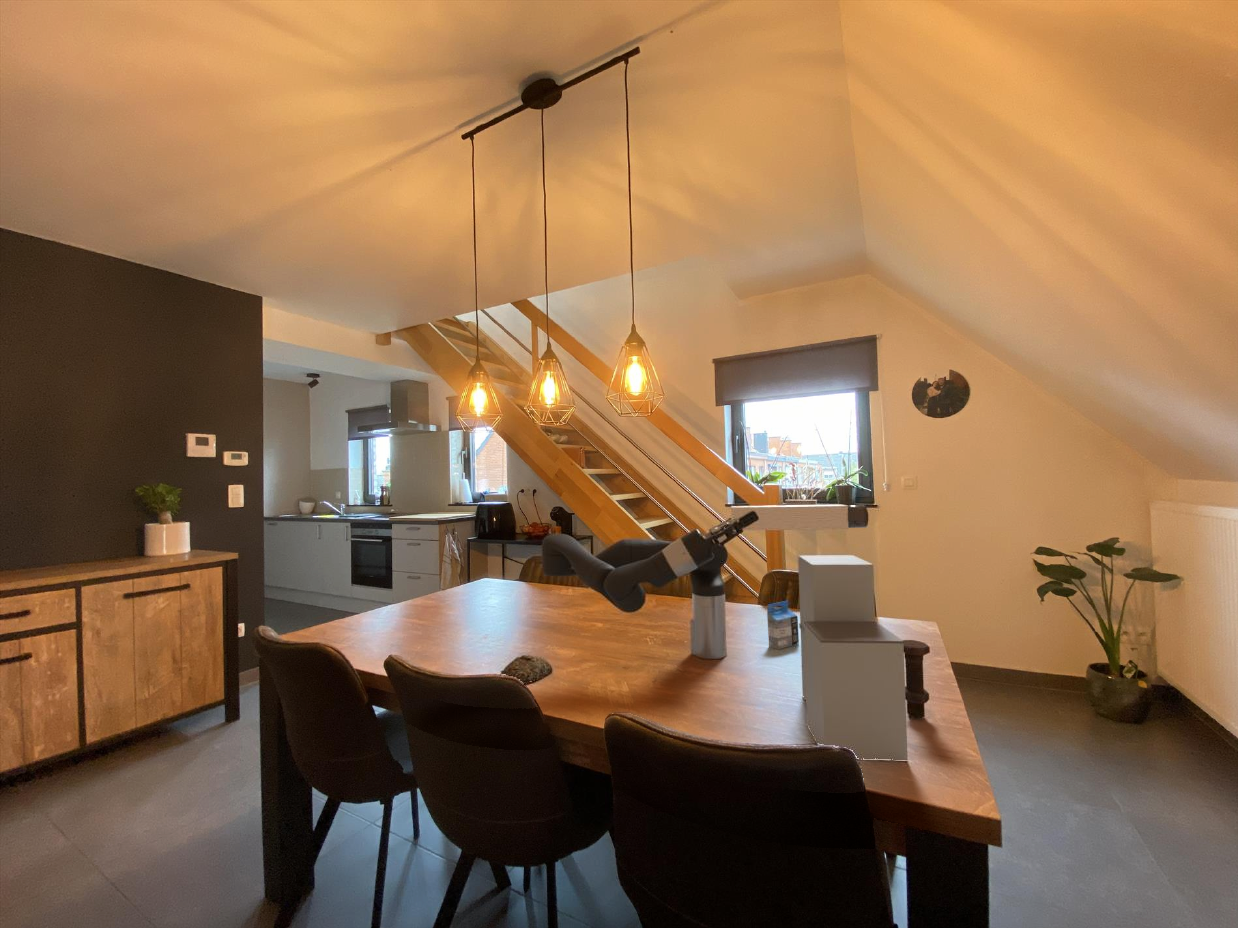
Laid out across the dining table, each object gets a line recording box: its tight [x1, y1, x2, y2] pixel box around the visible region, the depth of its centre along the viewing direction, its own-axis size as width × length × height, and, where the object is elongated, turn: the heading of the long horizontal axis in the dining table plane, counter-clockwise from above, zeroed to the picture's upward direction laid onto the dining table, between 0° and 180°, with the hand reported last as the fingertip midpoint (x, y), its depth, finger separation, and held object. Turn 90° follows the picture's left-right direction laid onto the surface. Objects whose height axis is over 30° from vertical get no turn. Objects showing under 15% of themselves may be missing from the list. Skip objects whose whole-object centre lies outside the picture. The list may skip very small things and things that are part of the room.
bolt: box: [901, 639, 931, 720], centre depth 106 cm, size 6×5×15 cm
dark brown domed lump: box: [500, 654, 554, 684], centre depth 134 cm, size 13×12×5 cm
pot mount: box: [797, 554, 908, 761], centre depth 104 cm, size 15×26×32 cm, turn 174°
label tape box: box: [766, 600, 800, 650], centre depth 151 cm, size 9×4×12 cm, turn 120°
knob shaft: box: [730, 504, 869, 531], centre depth 112 cm, size 28×5×5 cm, turn 84°
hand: (754, 513), depth 113 cm, fingers closed on knob shaft, 4 cm apart
